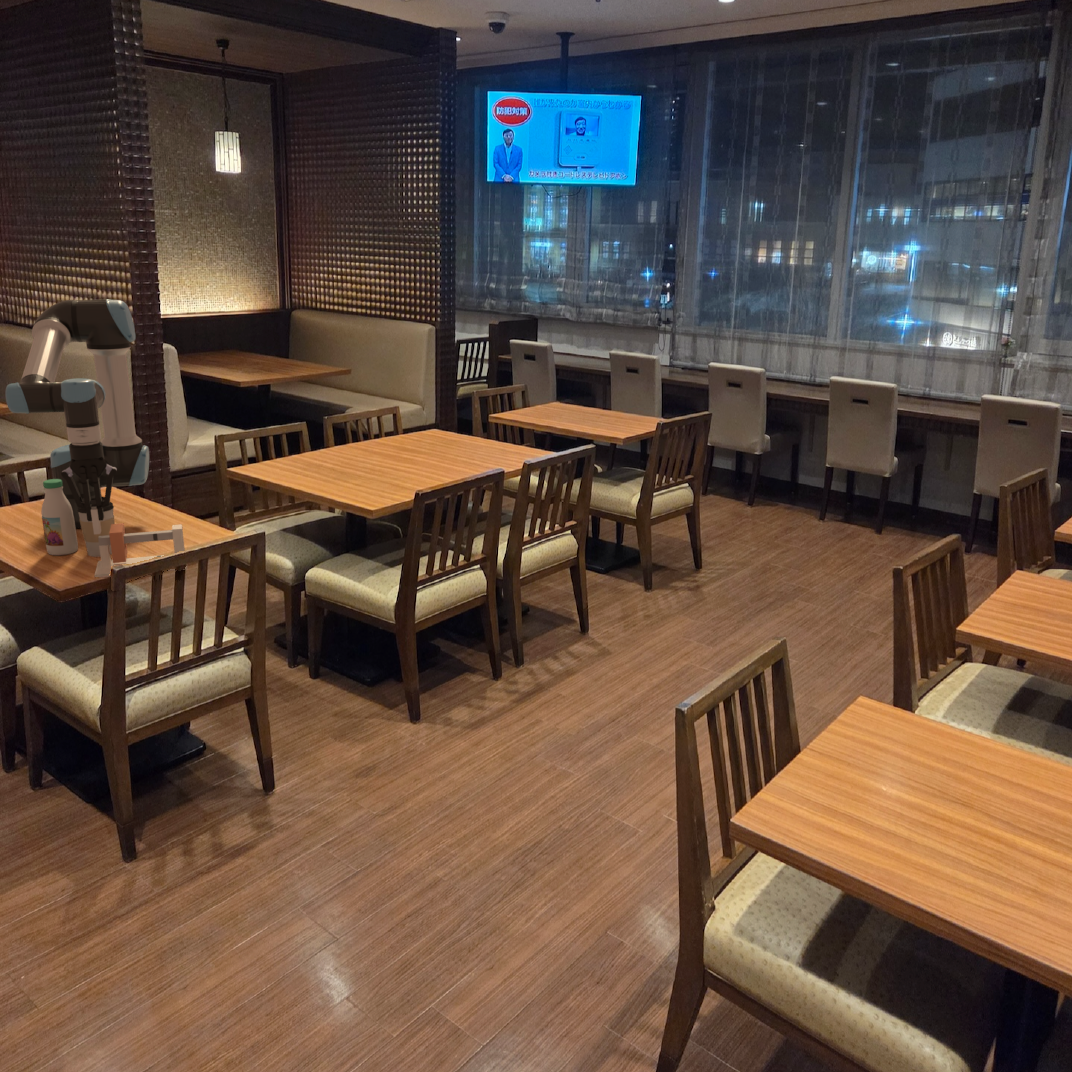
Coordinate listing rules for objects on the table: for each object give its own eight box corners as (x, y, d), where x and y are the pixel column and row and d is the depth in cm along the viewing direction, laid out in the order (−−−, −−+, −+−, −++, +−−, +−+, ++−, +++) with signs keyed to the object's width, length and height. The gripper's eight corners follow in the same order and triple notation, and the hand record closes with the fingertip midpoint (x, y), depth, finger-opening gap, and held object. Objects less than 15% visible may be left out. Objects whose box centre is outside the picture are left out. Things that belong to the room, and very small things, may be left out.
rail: (98, 563, 252) (93, 527, 249) (187, 555, 259) (183, 520, 256) (94, 577, 242) (89, 540, 239) (186, 569, 249) (183, 532, 246)
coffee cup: (106, 559, 256) (98, 505, 251) (76, 556, 257) (68, 503, 253) (126, 548, 264) (119, 496, 259) (97, 546, 266) (90, 494, 261)
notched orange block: (115, 553, 251) (111, 524, 249) (127, 552, 252) (123, 523, 250) (113, 563, 244) (109, 533, 242) (125, 561, 245) (122, 532, 243)
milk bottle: (70, 545, 266) (60, 475, 260) (83, 551, 262) (73, 480, 256) (42, 551, 261) (31, 480, 254) (55, 558, 256) (44, 486, 250)
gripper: (54, 446, 232) (67, 539, 239) (112, 443, 236) (124, 534, 243) (58, 440, 239) (71, 530, 246) (114, 437, 243) (126, 526, 250)
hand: (97, 532), depth 244 cm, fingers closed
